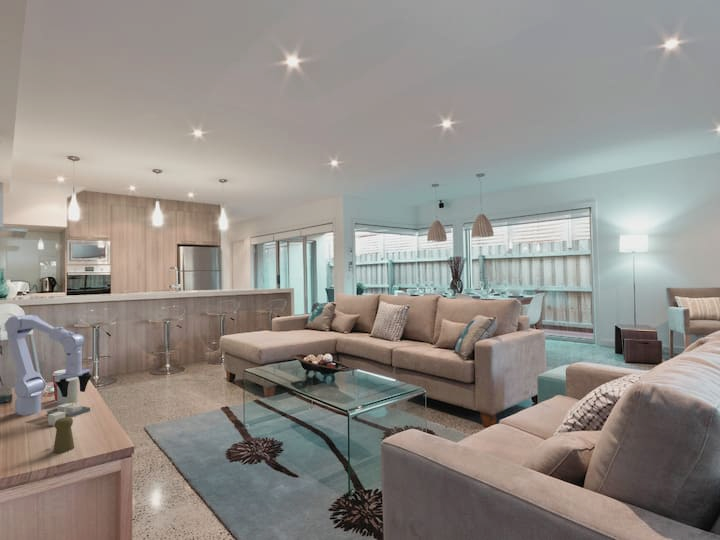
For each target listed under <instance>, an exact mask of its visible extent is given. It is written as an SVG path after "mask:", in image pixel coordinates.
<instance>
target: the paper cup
mask: <svg viewBox="0 0 720 540" xmlns="http://www.w3.org/2000/svg"><path fill="white" fill-rule="evenodd" d="M65 373H66V369H59V370H55V371H53V373H52V374H51V375H52V379H53V380H52V381H53V392H54V393H53V395H54V402H57V384H56V383H55V377H56V376H59V375H62V374H65Z"/></svg>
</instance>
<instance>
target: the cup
mask: <svg viewBox="0 0 720 540" xmlns="http://www.w3.org/2000/svg"><path fill="white" fill-rule="evenodd" d="M66 380H67V381H69V384H68V395H67V397H62V394H61V391H60V389H59V387H58V385H57V401H56V404H58V405H62V404H65V403H70V404H77V403H78V402H80V401H79V400H80V399H79V397H80V396H79V392H80V383H79V378H78V376H77V377H73V378H69V379H66ZM78 404H79V403H78Z"/></svg>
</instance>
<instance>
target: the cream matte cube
mask: <svg viewBox="0 0 720 540" xmlns="http://www.w3.org/2000/svg"><path fill="white" fill-rule="evenodd" d="M73 405H74V403H65V404H58V405H57V406H56V408H57V412H58V411H59V412H65V413H66V414H67V407H70V406H73Z"/></svg>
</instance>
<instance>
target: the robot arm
mask: <svg viewBox="0 0 720 540" xmlns="http://www.w3.org/2000/svg"><path fill="white" fill-rule="evenodd" d="M4 327H5V331H6V333H7V334H6V335H7V336H6V337H7V341H8V345H9V348H10V351H11V354H12V358H13V360H14V361H13V362H14V364H15V367H16V371H17V375H18V377H17V378H15V380H14V381H13V384H14V394H15V396H17V397H16V398H15V400H14V414H17V415H20V416H31V415H36V414H38V413H40V412H42V394H43V391H44V390H45V389H46V386H47V383H46V380H45V379H44V378H43V377H42V374H41V373H40V372H37V371H36V370H35V368H34V364H33V361H32V357H31V353H30V351H29V347H28V345H27V341H26V336H28V335H27V334H29V333H30V332H31V331H32V330H33V331H34V330H36V331H39V332H41V333H44V334H46V335H48V337H49V339H50V340H53V341H54V342H56V343H59V344H61V346H62V348H63V349H64V353H65V370H66V373H65V374H62V375H59V376H56V377H55V383H56V384H57V385H58V387H59V389H60V391H61V394H62V397H67V395H68V384H69V381H67V380H66V379H69V378H73V377H78V378H79V392H82V393H84V392H85V391H86V388H87V385H88V383H89V381H90V379H91V377H92V374H93V373H92V368H85V369H83V367H82V366H83V364H82V363H83V359H82V358H83V356H82V355H83V353H82V352H83V349H82V348H83V346H84V345H85V343H86V339H85V336H84V335H83V334H82V333H74V332H73V331H69V330H67V329H65V327H63V326H56V327H54V326H53V325H50V324H49V323H47V322H46V321H44V320H43V319H41V318H40V316H37V315H35V314H32V313H31V314H26V315H17V316H16V315H14V316H13V315H12V316H10V317H8V319H7V320H6V322H5V323H4Z"/></svg>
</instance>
